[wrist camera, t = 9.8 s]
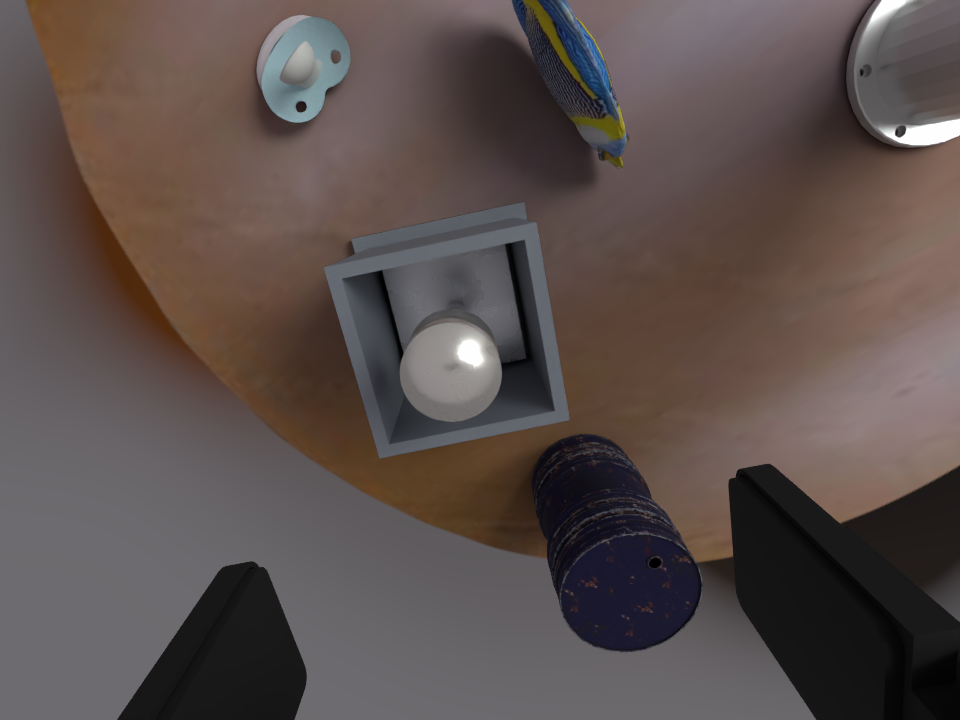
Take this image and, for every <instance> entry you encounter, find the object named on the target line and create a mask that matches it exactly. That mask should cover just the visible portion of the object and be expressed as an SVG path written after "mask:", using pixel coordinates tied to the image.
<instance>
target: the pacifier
mask: <svg viewBox="0 0 960 720" xmlns="http://www.w3.org/2000/svg"><path fill="white" fill-rule="evenodd" d="M333 51H339V52H340V54H341V60H340V62H339V63H337V64H335V63H333V62H332V60H331V54H332V52H333ZM349 66H350V50H349V46H348V43H347V41H346V38H345V37H344V35H343V33H342V32H341V31H340V29H339V28H338V27H337V26H336V25H334V24H333V23H332V22H330V21H328V20H326V19H323V18H318V17H310V16H305V15H298V16H292V17H290V18H288V19H286V20H284V21H282V22H281V23H280V24H278V25H277V26H276V27H275V28H274V29H273V30H272V31H271V32H270V34H269V35H268V36H267V38H266V39H265V41H264V43H263V45H262V47H261V50H260V53H259V56H258V60H257V79H258V83H259V85H260V88H261V90H262V91H263V95H264V97H265V100H266V102H267V104H268V106H269V107H270V108H271V110H272V111H273V112H274V113H275V114H276V115H278V116H279V117H281V118H282V119H284V120H287V121H289V122H294V123H303V122H307V121H309V120H311V119H313V118H314V117H316V116H317V115H318V113H319V112H320V111H321V109H322V107H323V104H324V100H325V92H326V91H327V89H328V88H331V87H333V86H335V85H337V84H338V83H340V82H341V81H342V80H343V79H344V77H345V76H346V74H347V72H348V69H349ZM300 101H303V102H305V103H306V105H307V109H306V111H304V112H302V113H300V112H297V110H296V104H297V103H298V102H300Z"/></svg>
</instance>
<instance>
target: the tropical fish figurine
mask: <svg viewBox="0 0 960 720" xmlns="http://www.w3.org/2000/svg"><path fill="white" fill-rule="evenodd" d="M512 3H513V7H514V10H515V12H516V15H517V17H518V20H519V22H520V24H521V26H522V28H523V30H524V32H525V34H526V36H527V37H528V41H529V45H530V48H531V51H532V54H533V56H534V59H535V62H536V64H537V66H538V69H539V71H540V73H541V75H542V77H543V79H544V81H545V83H546V85H547V87H548V89H549V91H550V92H551V94H552V96H553V97H554V99H555V100H556V102H557V103H558V104H559V106H560V107H561V108H562V110H563V111H564V112H565V114H566V115H567V116H568V117H569V118H570V119H571V120H572V121H573V122H574V123H575V125H576V127H577V129H578V131H579V133H580V135H581V136H582V137H583V139H584V140H585V141H586V142H588V143H589V145H590V146H591V147H592V148H593V149H595V150H596V151H598V152H599V153H598V157H599V159H600V160H601V161H603V160H608V161H609V162H610V163H611V164H613V165H614V166H615V167H616V168H620V167H621V168H622V167H623V162H622V159H621V157H620V156H621V155H622V153H623V152H624V148H625V146H626V145H627V143H628V141H629V135H628V134H627V133H626V132H625V125H624V122H623V119H622V114H621V110H620V107H619V104H618V101H617V98H616V95H615V92H614V90H613V87H612V84H611V78H610V74H609V71H608V68H607V65H606V62H605V59H604V57H603V55H602V53H601V51H600V49H599V48H598V46H597V44H596V42H595V40H594V38H593V37H592V36H591V34H590V33H589V31H588V30H587V29H586V27H585V26H584V24H583V23H582V22H581V21H580V20H579V19H578V18H577V17H576V16H575V15H574V14H573V12H572V10H571V8H570V6H569V4H568V3H567V1H566V0H512Z"/></svg>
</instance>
